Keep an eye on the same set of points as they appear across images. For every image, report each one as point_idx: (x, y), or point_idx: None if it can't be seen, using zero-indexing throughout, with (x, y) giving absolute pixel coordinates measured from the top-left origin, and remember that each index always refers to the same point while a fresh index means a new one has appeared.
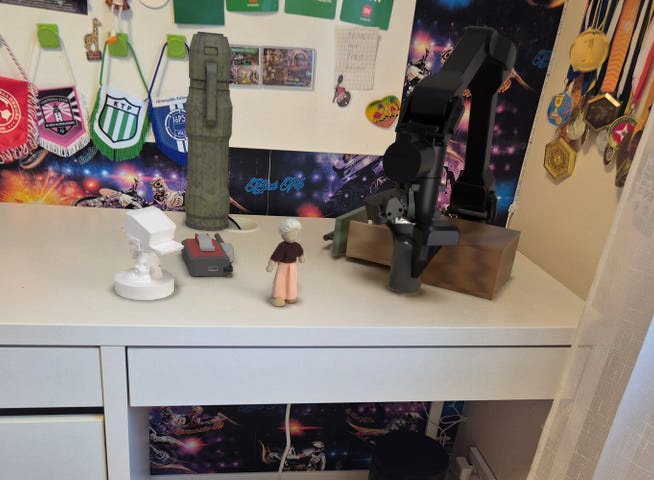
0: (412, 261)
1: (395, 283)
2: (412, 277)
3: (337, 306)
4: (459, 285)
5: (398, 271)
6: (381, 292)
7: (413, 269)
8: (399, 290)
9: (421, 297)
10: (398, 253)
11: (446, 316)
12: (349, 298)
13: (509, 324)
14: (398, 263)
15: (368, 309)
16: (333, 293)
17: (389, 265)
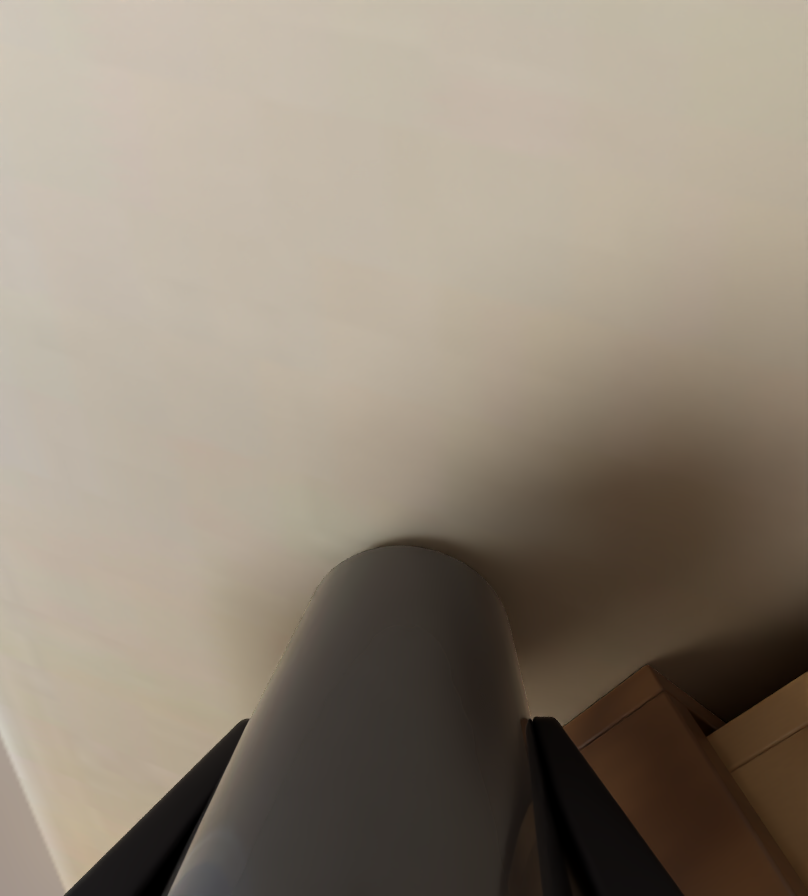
0: (114, 891)
1: (332, 587)
2: (240, 722)
3: (49, 67)
4: None
5: (288, 668)
6: (364, 478)
7: (166, 797)
8: (320, 584)
9: None
10: (222, 887)
11: (87, 682)
12: (223, 210)
13: (77, 854)
14: (267, 737)
15: (62, 307)
16: (307, 83)
17: (791, 683)
